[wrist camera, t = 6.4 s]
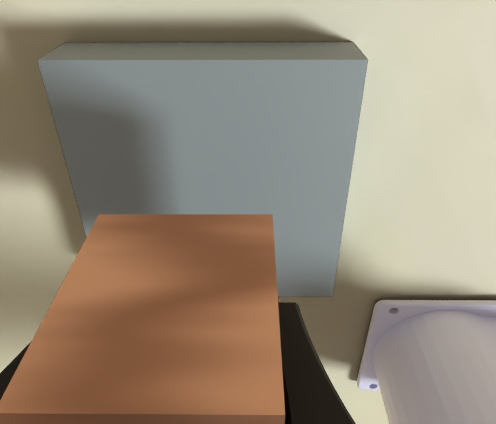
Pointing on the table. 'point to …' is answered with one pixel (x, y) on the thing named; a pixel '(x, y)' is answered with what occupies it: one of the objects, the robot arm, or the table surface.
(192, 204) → the base
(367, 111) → the table surface
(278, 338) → the block
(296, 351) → the robot arm
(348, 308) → the table surface
